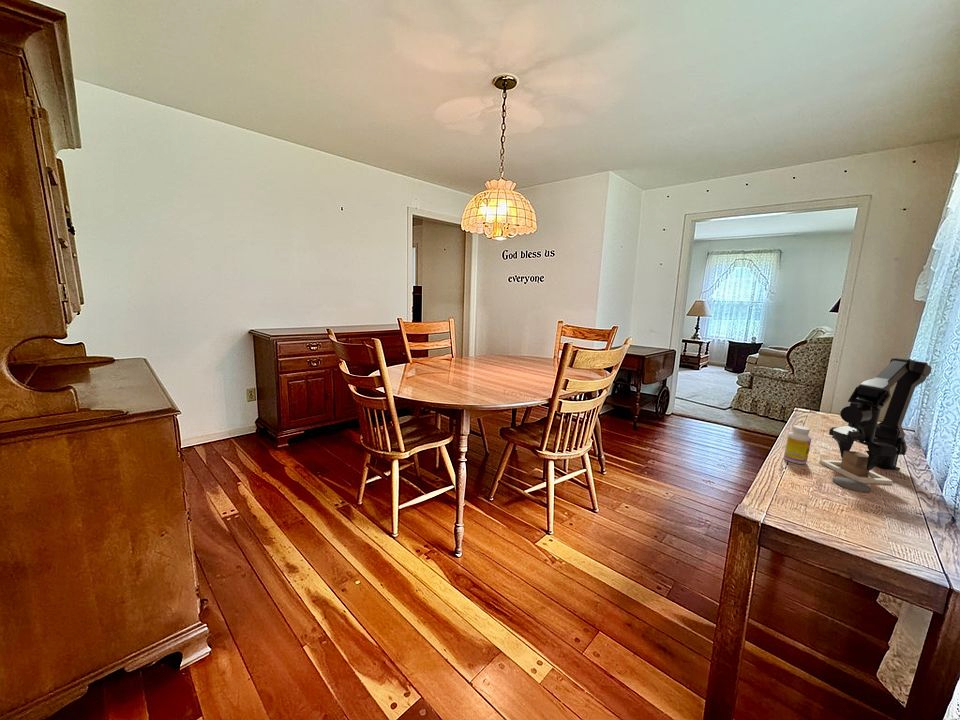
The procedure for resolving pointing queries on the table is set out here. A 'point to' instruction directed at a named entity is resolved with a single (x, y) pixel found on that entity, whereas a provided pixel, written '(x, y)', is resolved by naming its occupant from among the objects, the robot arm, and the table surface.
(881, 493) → the table surface
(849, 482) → the coaster
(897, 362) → the robot arm
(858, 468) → the block
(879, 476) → the pocket frame
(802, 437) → the supplement bottle
